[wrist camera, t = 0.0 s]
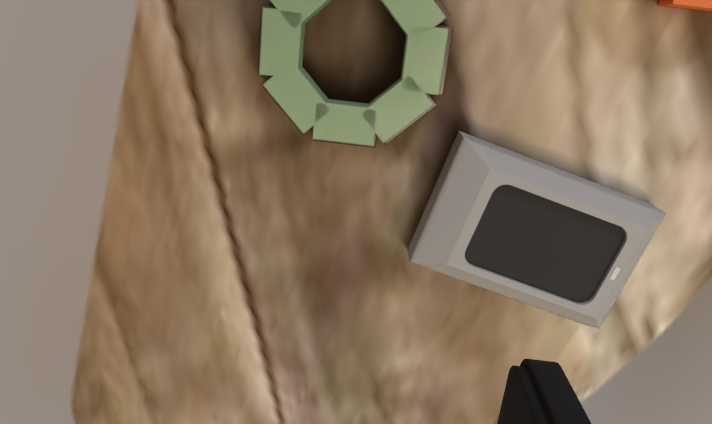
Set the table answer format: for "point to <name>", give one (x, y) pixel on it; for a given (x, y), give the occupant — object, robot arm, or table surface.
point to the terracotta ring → (688, 4)
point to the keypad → (532, 231)
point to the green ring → (344, 118)
